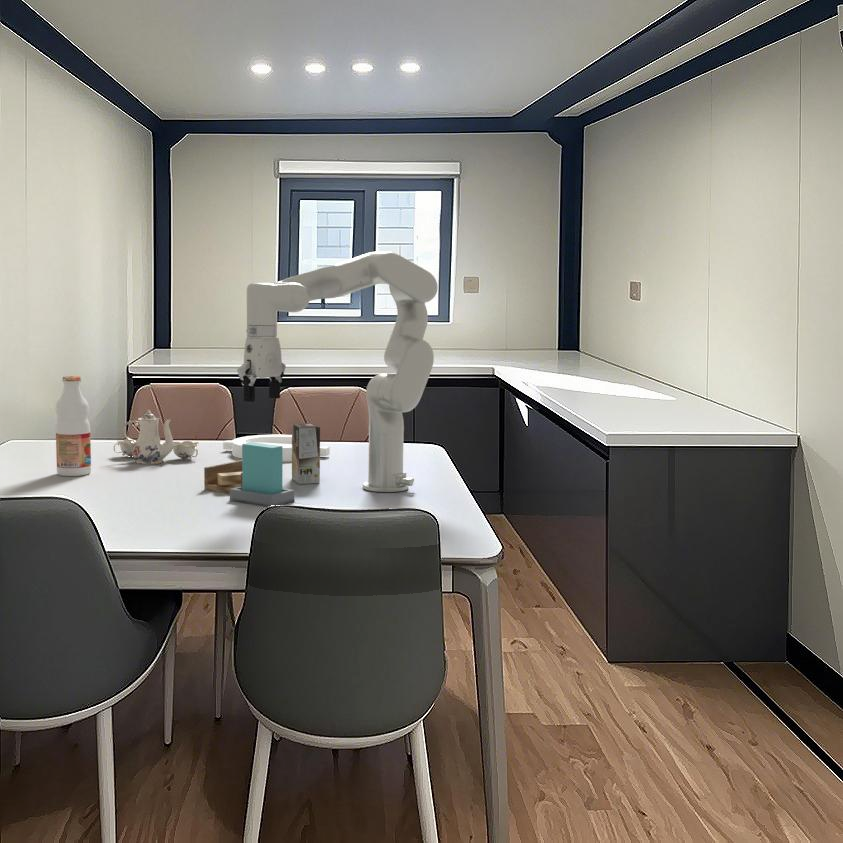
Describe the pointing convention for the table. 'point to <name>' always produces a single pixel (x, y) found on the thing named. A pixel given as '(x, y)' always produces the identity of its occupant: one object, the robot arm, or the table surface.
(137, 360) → the table surface
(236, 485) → the offcut lower
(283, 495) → the charcoal tray
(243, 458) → the teal sheet
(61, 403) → the fruit juice
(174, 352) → the table surface
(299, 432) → the coffee box
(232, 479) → the offcut upper
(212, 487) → the offcut rack
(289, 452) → the white circle with bar
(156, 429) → the chinaware
